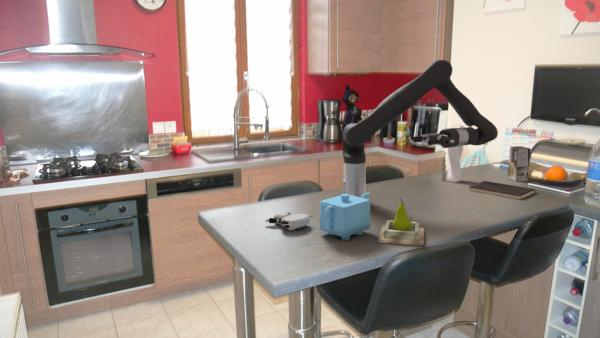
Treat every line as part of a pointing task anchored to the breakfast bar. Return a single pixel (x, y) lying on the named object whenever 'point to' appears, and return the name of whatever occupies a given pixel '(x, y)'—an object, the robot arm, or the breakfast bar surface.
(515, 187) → the book
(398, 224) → the fruit
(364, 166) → the robot arm
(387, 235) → the tray
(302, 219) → the robot toy
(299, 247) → the breakfast bar surface
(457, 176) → the skyscraper
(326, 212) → the teapot
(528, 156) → the coffee box
